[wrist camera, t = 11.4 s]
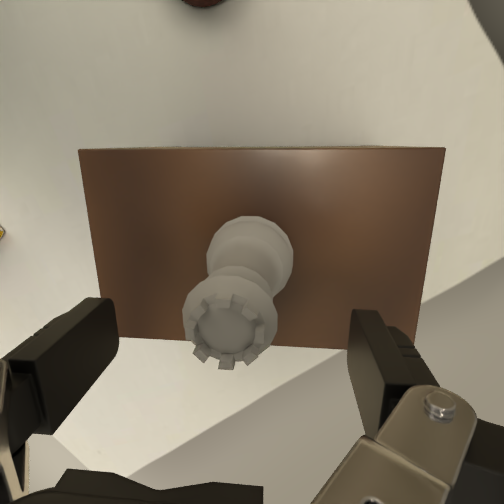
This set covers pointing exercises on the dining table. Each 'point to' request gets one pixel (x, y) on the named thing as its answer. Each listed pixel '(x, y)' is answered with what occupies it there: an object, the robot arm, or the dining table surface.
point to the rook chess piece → (238, 292)
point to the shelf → (275, 210)
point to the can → (202, 2)
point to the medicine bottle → (1, 232)
